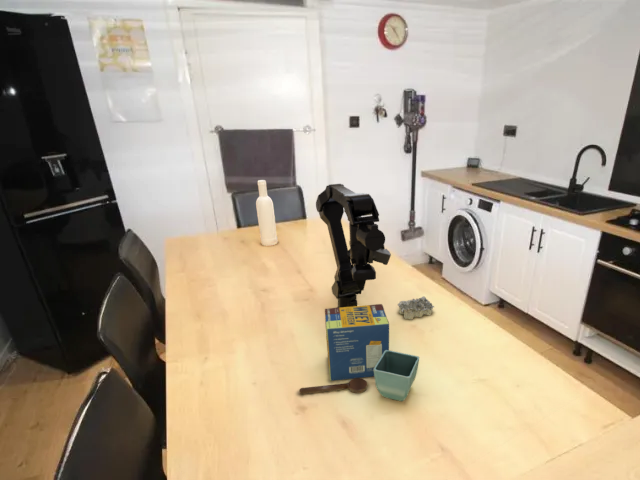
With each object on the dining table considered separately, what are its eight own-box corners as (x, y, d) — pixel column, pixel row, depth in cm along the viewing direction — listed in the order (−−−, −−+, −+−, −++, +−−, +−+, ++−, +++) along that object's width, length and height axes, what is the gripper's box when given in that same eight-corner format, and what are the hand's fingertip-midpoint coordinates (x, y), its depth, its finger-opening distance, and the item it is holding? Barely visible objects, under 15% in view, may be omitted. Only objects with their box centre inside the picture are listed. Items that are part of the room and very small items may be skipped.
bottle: (275, 246, 195) (267, 182, 182) (259, 246, 195) (250, 182, 182) (279, 240, 202) (272, 178, 189) (263, 240, 202) (255, 178, 189)
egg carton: (405, 321, 130) (405, 309, 128) (396, 310, 136) (396, 299, 135) (435, 314, 134) (435, 303, 132) (424, 304, 140) (425, 294, 138)
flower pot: (418, 386, 101) (420, 355, 97) (409, 409, 94) (410, 377, 90) (385, 378, 104) (385, 349, 100) (373, 401, 96) (372, 369, 92)
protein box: (327, 358, 112) (324, 308, 105) (383, 352, 114) (382, 303, 108) (329, 381, 103) (325, 328, 96) (389, 375, 105) (390, 323, 98)
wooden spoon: (299, 399, 97) (298, 395, 96) (299, 387, 101) (299, 382, 100) (368, 392, 99) (368, 387, 99) (365, 380, 103) (365, 375, 103)
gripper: (394, 249, 107) (394, 302, 114) (383, 228, 124) (383, 275, 130) (352, 251, 105) (354, 305, 112) (346, 230, 122) (348, 278, 129)
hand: (361, 290), depth 121 cm, fingers closed
